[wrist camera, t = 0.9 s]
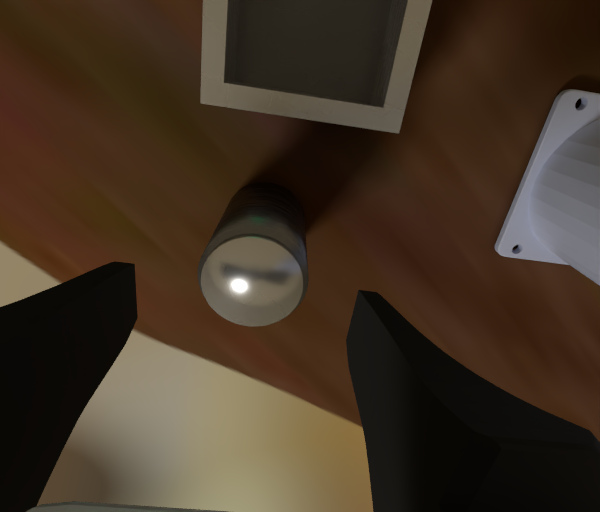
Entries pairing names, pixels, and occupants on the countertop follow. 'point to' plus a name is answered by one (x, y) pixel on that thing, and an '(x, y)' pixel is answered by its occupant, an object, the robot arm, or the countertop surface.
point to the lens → (256, 257)
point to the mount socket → (313, 58)
